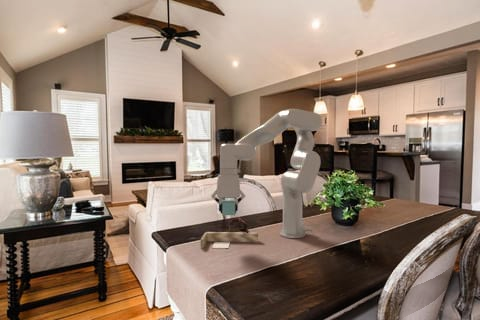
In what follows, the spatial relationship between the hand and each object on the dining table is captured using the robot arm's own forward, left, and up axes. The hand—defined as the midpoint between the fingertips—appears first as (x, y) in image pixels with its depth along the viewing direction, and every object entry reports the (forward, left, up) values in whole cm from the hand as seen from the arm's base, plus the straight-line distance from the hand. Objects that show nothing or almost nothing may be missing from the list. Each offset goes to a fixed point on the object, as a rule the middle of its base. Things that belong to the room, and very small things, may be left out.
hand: (228, 212), depth 121 cm
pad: (+3, 0, -15) cm, 16 cm away
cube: (0, 0, -1) cm, 1 cm away
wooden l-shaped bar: (0, -1, -15) cm, 15 cm away
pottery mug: (-3, -21, -15) cm, 26 cm away
